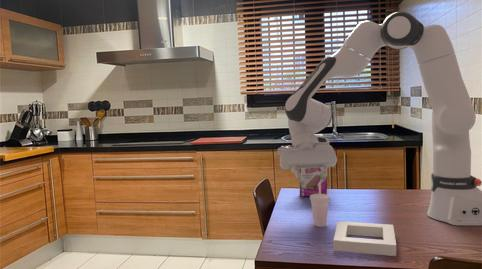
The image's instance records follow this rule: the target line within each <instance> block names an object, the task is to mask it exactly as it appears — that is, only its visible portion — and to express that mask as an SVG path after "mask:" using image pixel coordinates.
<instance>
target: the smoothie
mask: <svg viewBox="0 0 482 269" xmlns="http://www.w3.org/2000/svg"><path fill="white" fill-rule="evenodd" d="M330 197H331V196H330V195H329V194H328V193H327V194H321V182H319V194H312V195H310V197H309V200H310V202H311V203H310V204H311V210H312V216H313V217H312V218H313V224H314V226H315V227H318V228H322V227H323V228H324V227H326V226H327V218H328V210H329V201H330Z"/></svg>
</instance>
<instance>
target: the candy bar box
mask: <svg viewBox="0 0 482 269" xmlns="http://www.w3.org/2000/svg"><path fill="white" fill-rule="evenodd" d="M324 170H325V169H323V167H320V168H301V169H299V170H298V172H300V175H301V177H300V178H298V179H299V180H298V181H299V197H300V198H310V195H312V194H319V182H321V194H327V195H328V176H327V177H322V171H324Z"/></svg>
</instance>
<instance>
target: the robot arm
mask: <svg viewBox="0 0 482 269" xmlns="http://www.w3.org/2000/svg"><path fill="white" fill-rule="evenodd" d="M382 47H383V48H388V49H393V50H404V49H407V48H410V49H412V51H413V53H414V54H415V57H416V61H417V64H418V68H419V71H420V72H419V73H420V75H421V78H422V83H423V86H424V89H425V92H426V95H427V98H428V101H429V103H430V107H431V112H432V114H431V129H432V130H431V131H432V132H431V136H432V173H431V175H430V176H431V177H430V190H431V196H430V202H429V206H428V210H427V212H426V215H427V216H428V217H430V218H432V219H433V220H436V221H441V222H444V223H446V224H447V223H448V224H450V225H453V226H482V189H480V188H478V187H480V186H481V185H482V180H481V179H479V178H477V177H476V176H473V175H472V174H471V173H472V172H471V171H472V170H471V169H472V150H471V141H470V140H471V138H470V130H471V129H472V128H473V127H474V126H475V123H476V118H477V116H476V112H475V109H474V106H473V103H472V100H471V97H470V94H469V92H468V89H467V87H466V84H465V82H464V80H463V76H462V73H461V70H460V67H459V66H460V65H459V63H458V62H459V61H458V59H457V56H456V53H455V49H454V48H455V47H454V46H453V42H452V41H451V39H450V36H449V34H448V33H447V30H446V29H445V27H444V26H442V25H440V24H428V25H426V26H424V24H423V23H421V21H419V19H417V18H416V17H415V16H414V15H412V14H410V13H409V12H406V11H396V12H392V13H391V14H389V15H388V16H386V18H385V19H384V20H383V23H381V24H380V23H376V22H374V21H372V20H364V21H361V22H359V23H358V24H357V25H356V26H355V27H354V29H353V30H352V31H351V32H350V34H348V36H347V38H346V39H345V41H344V42H343V44H342V45H341V46H340V48H339V49H338V50H337V51H336V52H335V53H333V54H331V55H328V56H326V57H324V58H323V59H322V60H321V61H320V62H319V64H318V65H316V67H315V68H314V69H313V71H312V72H311V73H310V74H309V75H308V76H307V78H306V79H305V80H304V81H303V82H302V84H301V85H300V86H299V87H298V88H297V89H296V90H295V91H294V92H293V93H292V94H291V95H290V96H289V97H288V98H287V99H286V101H285V102H284V111H285V116H287V118H288V121H287V122H288V123H287V124H288V130H289V134H290V136H291V139H290V140H291V145H281V146H280V147H278V148H277V154H278V157H279V166H280V168H281V169H282V170H290V172H291V173H292V174H293V175H294V176H295V179H299V178H300V177H301V175H300V172H299V171H298V170H297V169H301V168H320V167H323V169H325V170H324V171H322V177H327V178H328V169H329V168H334V167H335V166H336V164H338V163H337V162H338V157H337V154H336V152H335V149H334V148H333V146H332V145H330V140H329V138H327V137H322V136H318V135H315V134H317V133H319V132H321V131H323V130H324V129H326V128H327V127H328V126H329V125H330V124H331V122H332V119H333V111H332V108H331V107H330V105H328V104H326V103H323V102H321V101H319V100H316V99H314V98H312V97H313V96H315V94H316V92H317V91H318V90H319V89H320V87H321V86H322V85H323V84H324V83H325V82H326V81H327V80H329V79H332V78H335V77H336V78H337V77H338V78H339V77H344V78H351V77H355V76H358V75H360V74H361V73H363V71H365V69H367V66H368V65H369V64H370V62H371V61H372V59H373V57H374V55H376V53H377V52H378V51H379V49H380V48H382Z"/></svg>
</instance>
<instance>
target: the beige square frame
mask: <svg viewBox="0 0 482 269" xmlns="http://www.w3.org/2000/svg"><path fill="white" fill-rule="evenodd" d="M349 235H350V236H360V237H348V236H349ZM361 236H362V237H363V238H361ZM364 237H375V238H376V237H377V238H382V239H373V238H364ZM332 241H333V252H345V253H354V254H355V253H356V254H367V255H380V256H387V257H388V256H390V257H391V256H392V257H397V241H396V235H395V229H394V224H389V223H387V224H386V223H385V224H384V223H370V222H358V221H356V222H354V221H343V220H342V221H341V220H340V221H339V220H338V221H337V223H336V228H335V233H334V236H333V240H332Z"/></svg>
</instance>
